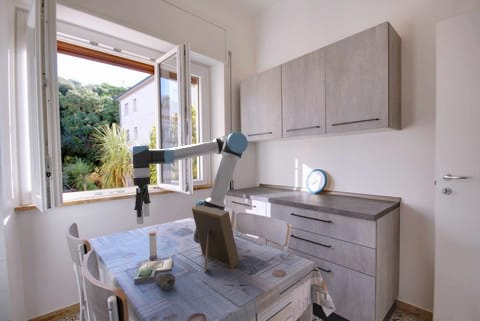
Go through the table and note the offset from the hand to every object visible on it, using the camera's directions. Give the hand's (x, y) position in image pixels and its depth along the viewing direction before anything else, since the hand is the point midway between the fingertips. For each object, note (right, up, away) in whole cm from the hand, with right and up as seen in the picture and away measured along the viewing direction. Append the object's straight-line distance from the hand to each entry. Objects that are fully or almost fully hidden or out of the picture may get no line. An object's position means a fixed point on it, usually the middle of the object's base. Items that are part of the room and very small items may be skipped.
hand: (143, 219), depth 110 cm
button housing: (+10, -18, -20) cm, 29 cm away
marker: (+5, -18, 0) cm, 19 cm away
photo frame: (+34, -18, -8) cm, 39 cm away
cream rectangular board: (+10, -18, -11) cm, 23 cm away
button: (+10, -18, -20) cm, 29 cm away
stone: (+19, -18, -26) cm, 37 cm away
